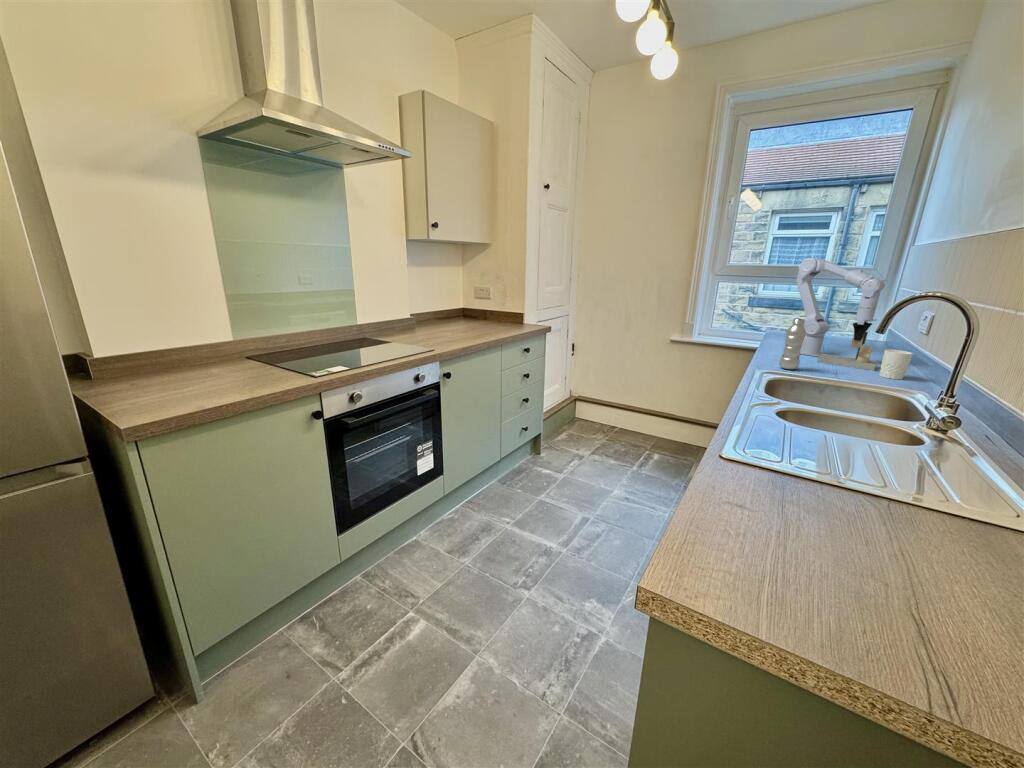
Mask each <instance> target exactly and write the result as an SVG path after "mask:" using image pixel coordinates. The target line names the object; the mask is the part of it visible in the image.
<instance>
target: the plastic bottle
mask: <svg viewBox="0 0 1024 768" xmlns="http://www.w3.org/2000/svg"><path fill="white" fill-rule="evenodd" d="M805 319H806V318H796V317H795V318H793V320H792V325H790V326H789V328H787V330H786V331H785V342H784V349H783V351H782V356H781V357H780V359H779V362H778V363H779V367H780V368H782V369H784V370H796V369H798V368H799V366H800V355H801V354H800V350H801V346H802V343H803V340H804V338H805V336H806V330H805V328H804V327H805V326H804V325H805Z"/></svg>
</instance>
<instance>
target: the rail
mask: <svg viewBox="0 0 1024 768" xmlns="http://www.w3.org/2000/svg"><path fill="white" fill-rule="evenodd" d="M855 359H856V357H855V358H854V357H847V356H841V355H833V354H827V353H822V354H821V355H820V356H818V357H817V360H816V363H819V362H820V364H827V365H832V364H833V366H838V365H839V367H844V366H845V368H851V367H852V369H857V368H858V370H863V369H865V371H870V370H872V371H871V372H875V370H876V369H875V368H877V365H878V361H877V360H876V361H874V360H869V362H868V363H866V362H859V361H857V360H855Z"/></svg>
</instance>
